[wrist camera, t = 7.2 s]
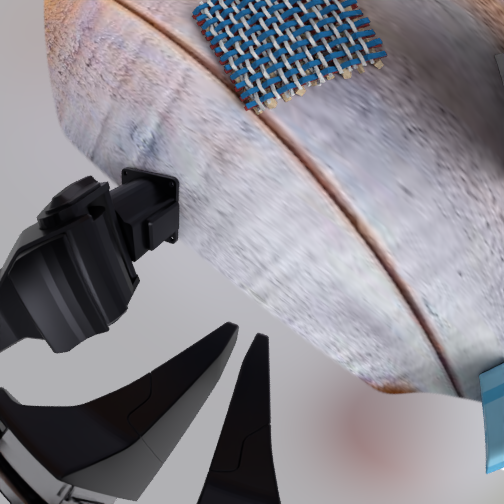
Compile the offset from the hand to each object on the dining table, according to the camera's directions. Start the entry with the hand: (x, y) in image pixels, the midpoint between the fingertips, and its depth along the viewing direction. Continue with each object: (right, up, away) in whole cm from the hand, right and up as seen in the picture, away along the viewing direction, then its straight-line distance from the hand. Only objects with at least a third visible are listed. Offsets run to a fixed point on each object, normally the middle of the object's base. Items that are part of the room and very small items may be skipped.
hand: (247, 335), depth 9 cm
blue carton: (+32, -14, +12) cm, 37 cm away
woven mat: (+3, +18, +5) cm, 19 cm away
